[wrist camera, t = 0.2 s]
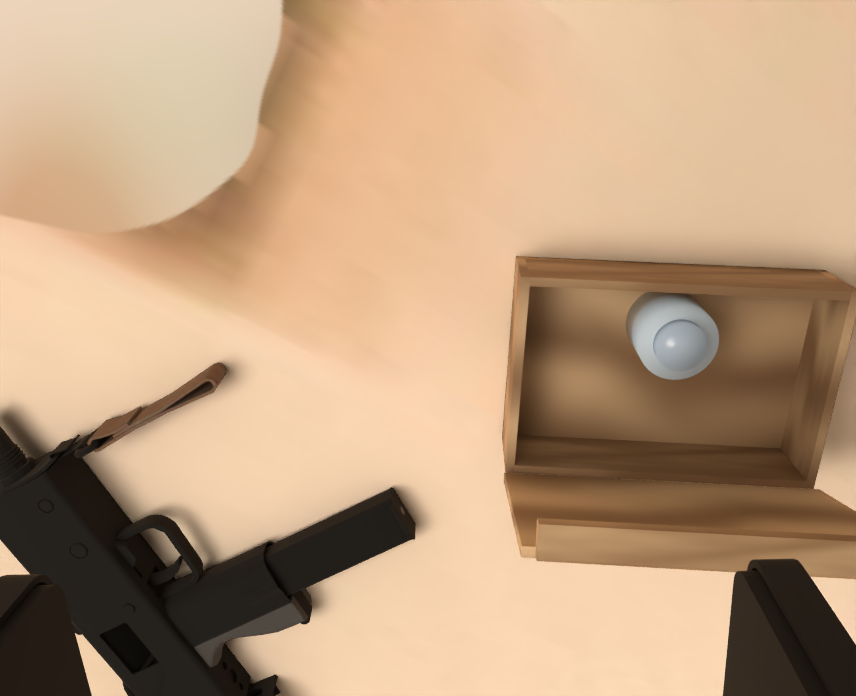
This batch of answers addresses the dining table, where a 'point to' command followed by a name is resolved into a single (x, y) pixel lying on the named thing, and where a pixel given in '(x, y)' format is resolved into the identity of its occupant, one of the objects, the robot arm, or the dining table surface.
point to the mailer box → (673, 399)
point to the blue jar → (672, 334)
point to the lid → (679, 524)
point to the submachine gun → (153, 582)
